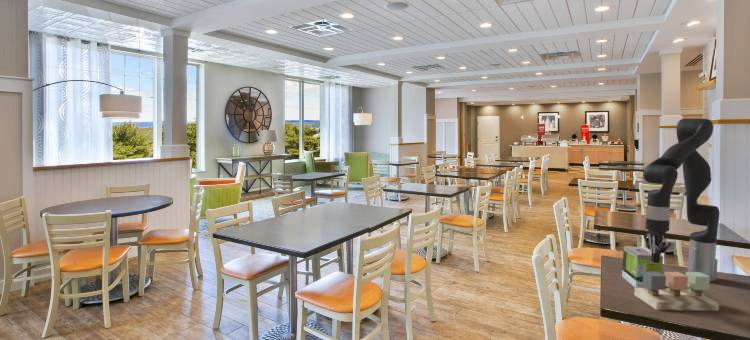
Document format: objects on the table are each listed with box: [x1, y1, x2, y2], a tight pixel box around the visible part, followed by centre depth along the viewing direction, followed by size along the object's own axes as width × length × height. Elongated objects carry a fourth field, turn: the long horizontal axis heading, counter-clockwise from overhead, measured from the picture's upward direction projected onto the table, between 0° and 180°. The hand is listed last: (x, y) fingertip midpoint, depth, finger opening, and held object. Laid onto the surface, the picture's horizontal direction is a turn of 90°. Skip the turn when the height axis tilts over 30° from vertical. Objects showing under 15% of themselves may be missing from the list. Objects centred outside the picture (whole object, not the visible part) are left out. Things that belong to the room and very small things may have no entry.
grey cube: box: [643, 272, 666, 290], centre depth 157 cm, size 5×5×5 cm
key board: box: [634, 287, 720, 312], centre depth 157 cm, size 22×14×7 cm, turn 87°
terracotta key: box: [663, 271, 688, 290], centre depth 156 cm, size 5×5×5 cm
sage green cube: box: [685, 271, 711, 291], centre depth 156 cm, size 5×5×5 cm
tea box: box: [621, 245, 664, 289], centre depth 176 cm, size 15×10×15 cm, turn 168°
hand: (655, 262), depth 156 cm, fingers closed
